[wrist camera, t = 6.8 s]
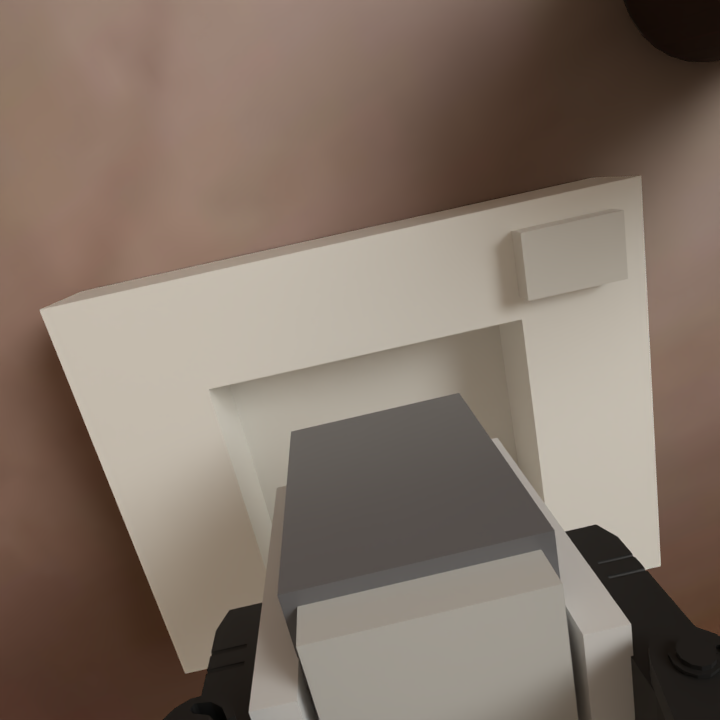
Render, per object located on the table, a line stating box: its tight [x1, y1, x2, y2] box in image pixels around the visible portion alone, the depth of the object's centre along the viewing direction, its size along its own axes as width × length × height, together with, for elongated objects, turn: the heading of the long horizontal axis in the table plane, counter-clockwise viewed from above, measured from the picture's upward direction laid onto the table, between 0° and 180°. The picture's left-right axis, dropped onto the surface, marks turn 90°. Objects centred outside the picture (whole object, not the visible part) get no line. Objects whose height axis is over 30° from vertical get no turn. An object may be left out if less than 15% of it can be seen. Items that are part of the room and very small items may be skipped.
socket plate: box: [40, 176, 661, 674], centre depth 19 cm, size 14×18×4 cm
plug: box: [277, 393, 578, 720], centre depth 12 cm, size 5×4×7 cm
